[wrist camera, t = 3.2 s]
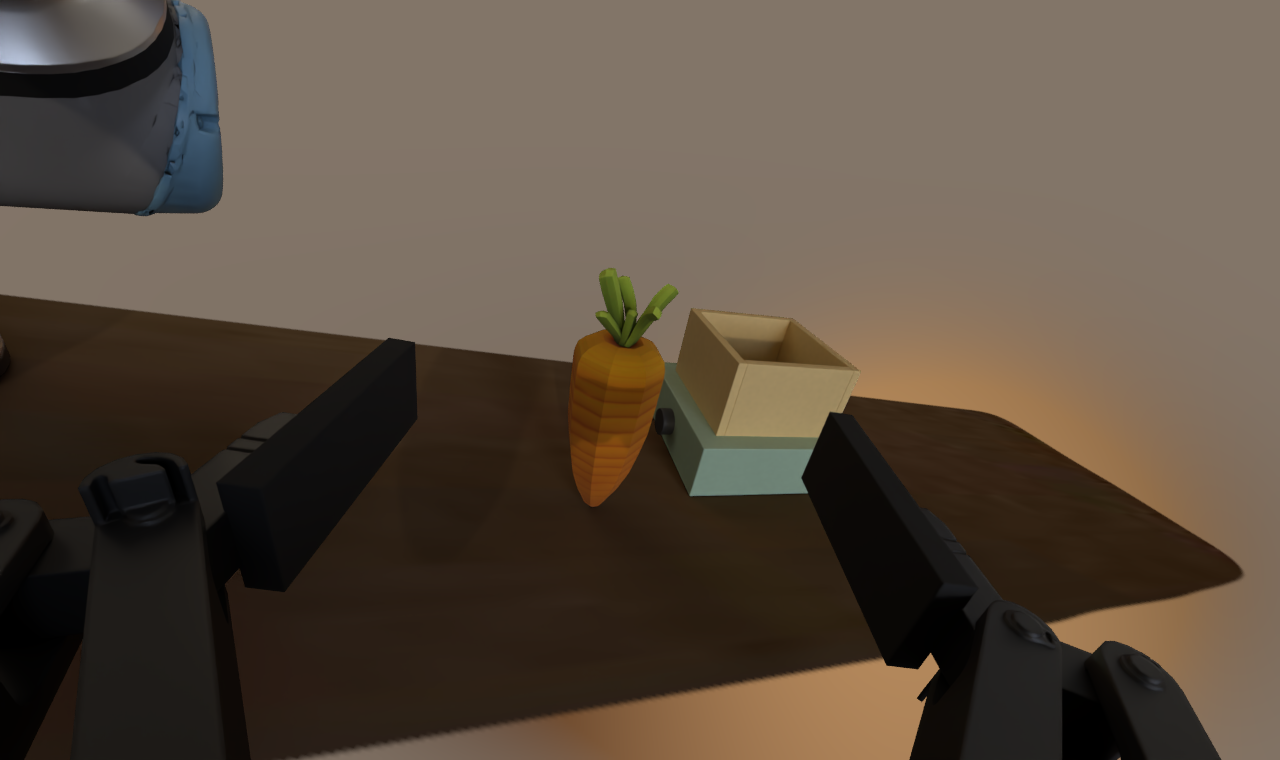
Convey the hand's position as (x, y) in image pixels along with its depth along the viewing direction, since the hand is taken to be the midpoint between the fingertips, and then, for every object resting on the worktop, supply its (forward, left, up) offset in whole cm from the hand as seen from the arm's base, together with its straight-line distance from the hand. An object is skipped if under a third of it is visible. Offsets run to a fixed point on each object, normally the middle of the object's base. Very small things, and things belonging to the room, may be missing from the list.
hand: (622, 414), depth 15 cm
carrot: (-4, +9, -13) cm, 16 cm away
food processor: (+2, +22, -13) cm, 25 cm away
